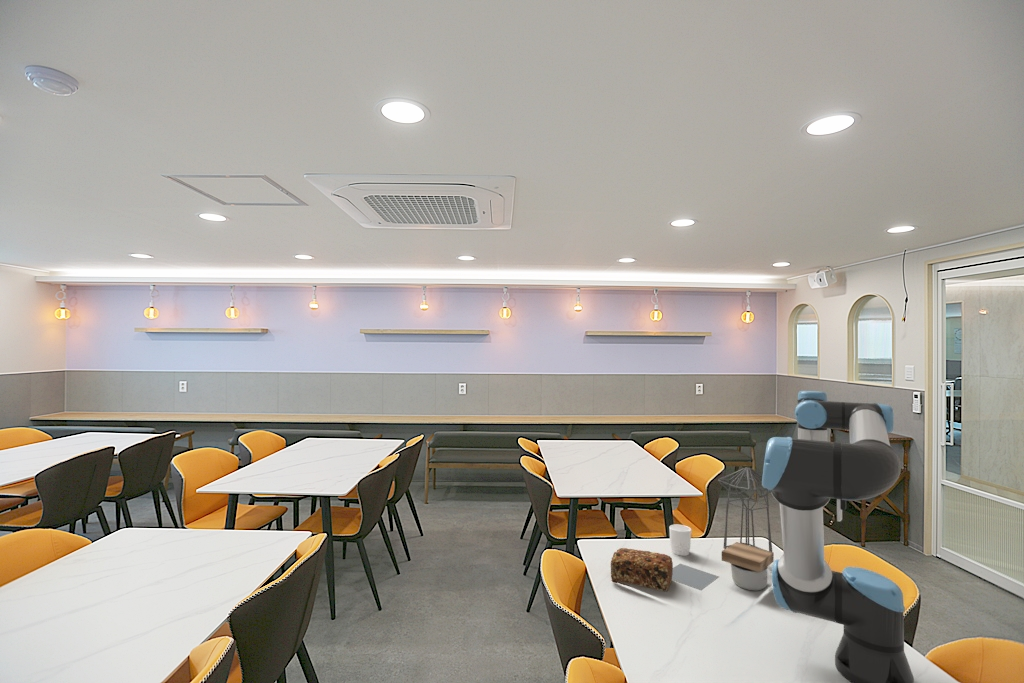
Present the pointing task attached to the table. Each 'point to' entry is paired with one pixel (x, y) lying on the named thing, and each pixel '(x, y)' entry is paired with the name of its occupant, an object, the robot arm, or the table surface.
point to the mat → (692, 576)
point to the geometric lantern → (758, 480)
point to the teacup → (749, 578)
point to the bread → (642, 568)
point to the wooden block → (748, 556)
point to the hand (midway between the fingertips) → (812, 514)
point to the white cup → (680, 539)
